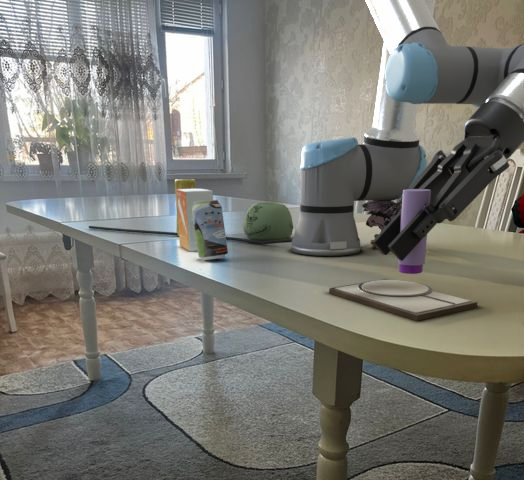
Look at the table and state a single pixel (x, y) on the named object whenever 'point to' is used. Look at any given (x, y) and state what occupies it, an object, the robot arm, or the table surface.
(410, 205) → the cylinder
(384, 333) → the table surface
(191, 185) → the vase
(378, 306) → the board
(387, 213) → the decorative flower
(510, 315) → the table surface
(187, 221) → the small box
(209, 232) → the green printed package
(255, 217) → the green rounded lump
